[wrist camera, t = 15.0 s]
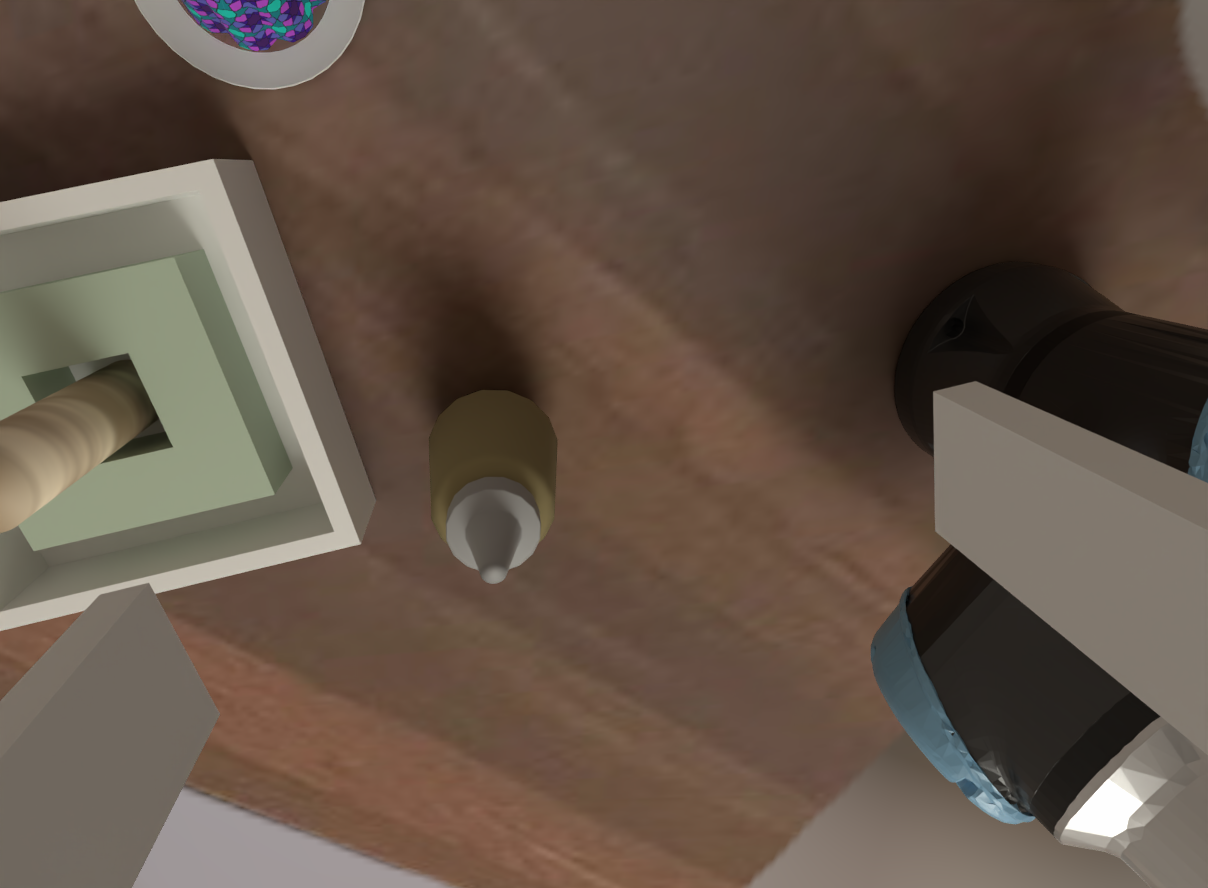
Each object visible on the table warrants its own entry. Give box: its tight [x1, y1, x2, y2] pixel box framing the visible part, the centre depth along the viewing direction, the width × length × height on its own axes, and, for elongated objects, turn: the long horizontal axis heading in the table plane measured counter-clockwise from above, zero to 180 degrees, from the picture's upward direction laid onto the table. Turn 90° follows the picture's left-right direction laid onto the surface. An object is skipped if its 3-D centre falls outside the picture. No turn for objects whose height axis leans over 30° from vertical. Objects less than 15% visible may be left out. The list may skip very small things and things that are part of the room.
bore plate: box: [0, 249, 293, 551], centre depth 40 cm, size 14×14×4 cm
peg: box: [0, 360, 159, 533], centre depth 35 cm, size 4×4×14 cm
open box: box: [0, 159, 376, 631], centre depth 40 cm, size 22×22×6 cm
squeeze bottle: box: [429, 390, 557, 584], centre depth 39 cm, size 8×8×18 cm
